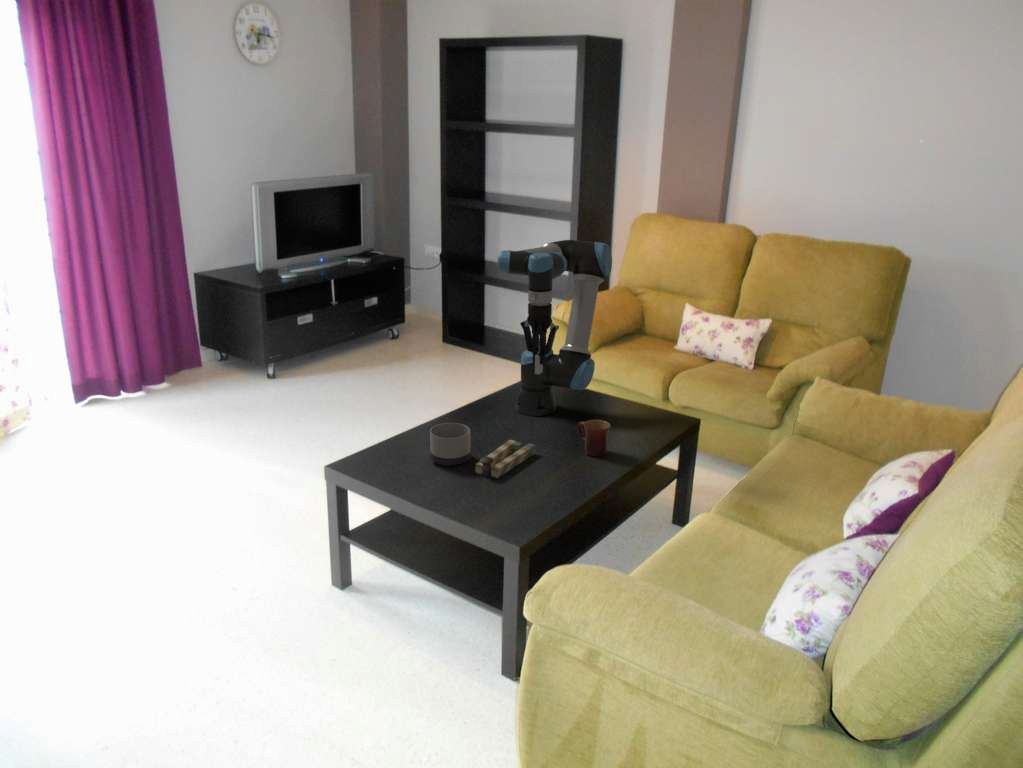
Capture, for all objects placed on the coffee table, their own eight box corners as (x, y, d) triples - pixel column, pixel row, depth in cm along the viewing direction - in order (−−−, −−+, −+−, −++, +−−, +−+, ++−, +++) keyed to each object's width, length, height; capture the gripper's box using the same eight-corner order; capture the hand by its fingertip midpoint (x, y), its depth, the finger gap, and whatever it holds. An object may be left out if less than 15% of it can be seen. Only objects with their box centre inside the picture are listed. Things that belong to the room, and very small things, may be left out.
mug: (614, 453, 277) (615, 424, 273) (598, 461, 271) (599, 432, 267) (585, 442, 284) (586, 414, 281) (569, 450, 278) (570, 422, 275)
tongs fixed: (489, 479, 257) (489, 463, 255) (472, 475, 260) (472, 458, 258) (525, 451, 277) (526, 436, 275) (509, 447, 280) (509, 432, 278)
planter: (424, 465, 267) (423, 434, 263) (440, 449, 278) (440, 420, 275) (460, 471, 263) (460, 440, 259) (476, 455, 274) (476, 426, 271)
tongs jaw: (497, 478, 258) (497, 469, 257) (491, 476, 259) (491, 467, 258) (534, 453, 275) (535, 444, 274) (528, 451, 276) (528, 443, 275)
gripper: (516, 302, 264) (515, 373, 272) (553, 308, 258) (551, 379, 267) (527, 297, 270) (526, 366, 279) (563, 302, 265) (561, 372, 273)
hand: (538, 372), depth 273 cm, fingers closed
